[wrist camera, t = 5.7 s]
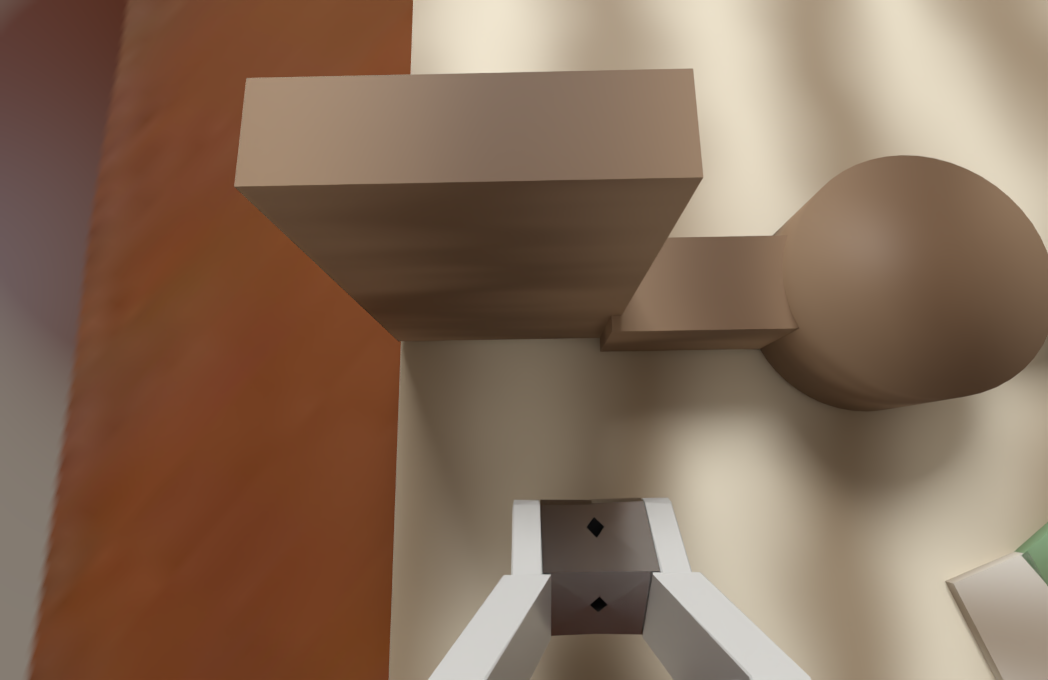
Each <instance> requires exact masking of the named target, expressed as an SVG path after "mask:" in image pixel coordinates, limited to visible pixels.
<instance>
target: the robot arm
mask: <svg viewBox="0 0 1048 680" xmlns="http://www.w3.org/2000/svg"><path fill="white" fill-rule="evenodd" d="M584 634H634V635H643V636H642V637H643V639H644V640H645V641H646V643H647V644H648V645H649V647H650V648H651V650H652V651H653V652H654V654H655V655H656V656H657V658H658V659H659V660H660V662H661V663H662V665H663V666H664V667H665V669H666V670H667V671H668V673H669V674H670V675H671V677H672V678H673V680H811V678H810V676H809V675H807V674H806V673H805V672H804V671H803V670H802V669H801V668H800V667H799V666H798V665H797V664H796V663H795V662H794V661H793V660H792V659H791V658H790V657H789V656H788V655H787V654H786V653H784V652H783V651H782V650H781V649H780V648H779V647H778V646H777V645H776V644H775V643H774V642H773V641H772V640H771V639H770V638H769V637H768V636H767V635H766V634H765V633H764V632H763V631H761V630H760V629H759V628H758V627H757V626H756V625H755V624H754V623H753V622H752V621H751V620H750V619H749V618H748V617H747V616H746V615H745V614H744V613H743V612H742V611H741V610H740V609H738V608H737V607H736V606H735V605H734V604H733V603H732V602H731V601H730V600H729V599H728V598H727V597H726V596H725V595H724V594H723V593H722V592H721V591H720V590H719V589H718V588H717V587H715V586H714V585H713V584H712V583H711V582H710V581H709V580H708V579H707V578H706V577H705V576H704V575H703V574H702V573H701V572H692V569H691V566H690V563H689V559H688V556H687V552H686V549H685V546H684V542H683V539H682V536H681V532H680V529H679V526H678V522H677V519H676V515H675V512H674V509H673V505H672V502H671V501H670V499H669V498H642V499H641V498H614V499H590V500H540V502H539V500H514V501H513V507H512V557H511V575H503V576H502V578H501V579H500V580H499V582H498V583H497V585H496V586H495V587H494V589H493V590H492V592H491V593H490V594H489V596H488V597H487V598H486V600H485V601H484V603H483V604H482V605H481V607H480V608H479V610H478V611H477V612H476V614H475V615H474V617H473V618H472V619H471V621H470V622H469V623H468V625H467V626H466V628H465V629H464V630H463V632H462V633H461V635H460V636H459V637H458V639H457V640H456V641H455V643H454V644H453V646H452V647H451V648H450V650H449V651H448V653H447V654H446V655H445V657H444V658H443V660H442V661H441V662H440V664H439V665H438V666H437V668H436V669H435V671H434V672H433V673H432V675H431V676H430V678H429V679H428V680H530V679H531V677H532V675H533V673H534V671H535V669H536V667H537V665H538V663H539V661H540V659H541V657H542V656H543V654H544V652H545V650H546V648H547V646H548V644H549V642H550V640H551V636H560V635H584Z"/></svg>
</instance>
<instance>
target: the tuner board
mask: <svg viewBox="0 0 1048 680" xmlns="http://www.w3.org/2000/svg"><path fill="white" fill-rule="evenodd" d="M688 68H693V72H694V83H695V93H696V104H697V114H698V125H699V135H700V146H701V157H702V167H703V179H702V181H701V182H700V184H699V186H698V187H697V189H696V191H695V192H694V194H693V196H692V198H691V199H690V201H689V203H688V204H687V206H686V208H685V209H684V211H683V213H682V214H681V216H680V218H679V219H678V221H677V223H676V225H675V226H674V228H673V230H672V231H671V233H670V235H669V236H668V238H671V237H724V236H772V235H773V234H774V233H775V232H776V231H778V230H779V229H780V228H781V227H782V226H783V225H784V224H785V223H786V222H787V221H788V220H789V219H790V218H791V217H792V216H793V215H794V214H795V213H796V212H797V211H798V210H799V209H800V208H801V207H802V206H803V205H804V204H806V203H807V202H808V201H809V200H810V199H811V198H812V197H813V196H814V195H815V194H816V193H817V192H818V191H819V190H820V189H821V188H822V187H823V186H824V185H825V184H827V183H828V182H829V181H830V180H831V179H832V178H834V177H835V176H837V175H838V174H840V173H841V172H843V171H844V170H846V169H848V168H850V167H852V166H854V165H856V164H859V163H862V162H865V161H868V160H871V159H876V158H881V157H886V156H898V155H910V156H923V157H929V158H935V159H939V160H943V161H946V162H950V163H953V164H955V165H958V166H961V167H963V168H966V169H968V170H970V171H972V172H974V173H976V174H978V175H980V176H981V177H983V178H985V179H986V180H988V181H989V182H991V183H992V184H994V185H995V186H997V187H998V188H999V189H1000V190H1001V191H1003V192H1004V193H1005V194H1006V195H1008V196H1009V197H1010V198H1011V199H1012V200H1013V201H1014V202H1015V203H1016V204H1017V205H1018V206H1019V207H1020V208H1021V209H1022V211H1023V212H1024V213H1025V215H1026V216H1027V217H1028V218H1029V220H1030V221H1031V222H1032V224H1033V225H1034V227H1035V229H1036V230H1037V232H1038V234H1039V235H1040V237H1041V239H1042V241H1043V244H1044V246H1045V248H1046V250H1047V252H1048V0H413V25H412V53H411V75H414V74H459V73H505V72H551V71H597V70H642V69H688ZM614 498H641V499H642V498H669V499H670V501H671V502H672V505H673V509H674V512H675V515H676V519H677V522H678V526H679V529H680V532H681V536H682V539H683V542H684V546H685V549H686V552H687V556H688V559H689V563H690V566H691V569H692V572H701V573H702V574H703V575H704V576H705V577H706V578H707V579H708V580H709V581H710V582H711V583H712V584H713V585H714V586H715V587H717V588H718V589H719V590H720V591H721V592H722V593H723V594H724V595H725V596H726V597H727V598H728V599H729V600H730V601H731V602H732V603H733V604H734V605H735V606H736V607H737V608H738V609H740V610H741V611H742V612H743V613H744V614H745V615H746V616H747V617H748V618H749V619H750V620H751V621H752V622H753V623H754V624H755V625H756V626H757V627H758V628H759V629H760V630H761V631H763V632H764V633H765V634H766V635H767V636H768V637H769V638H770V639H771V640H772V641H773V642H774V643H775V644H776V645H777V646H778V647H779V648H780V649H781V650H782V651H783V652H784V653H786V654H787V655H788V656H789V657H790V658H791V659H792V660H793V661H794V662H795V663H796V664H797V665H798V666H799V667H800V668H801V669H802V670H803V671H804V672H805V673H806V674H807V675H809V676H810V678H811V680H1048V335H1047V337H1046V339H1045V342H1044V344H1043V346H1042V347H1041V349H1040V350H1039V352H1038V353H1037V355H1036V356H1035V358H1034V359H1033V360H1032V361H1031V362H1030V363H1029V364H1028V365H1027V366H1026V367H1025V368H1024V369H1023V370H1022V371H1021V372H1020V373H1018V374H1017V375H1016V376H1014V377H1013V378H1012V379H1010V380H1009V381H1007V382H1005V383H1003V384H1002V385H1000V386H998V387H996V388H993V389H991V390H988V391H985V392H983V393H979V394H975V395H970V396H966V397H960V398H954V399H948V400H941V401H935V402H929V403H923V404H917V405H911V406H904V407H898V408H892V409H886V410H878V411H852V410H846V409H841V408H836V407H833V406H830V405H827V404H824V403H821V402H819V401H817V400H815V399H812V398H810V397H809V396H807V395H805V394H804V393H802V392H800V391H799V390H797V389H796V388H794V387H793V386H792V385H791V384H789V383H788V382H787V381H785V380H784V379H783V378H782V377H781V376H780V375H779V374H778V373H777V372H776V371H775V370H774V368H773V367H772V366H771V365H770V363H769V362H768V361H767V360H766V358H765V356H764V355H763V353H762V352H761V350H760V349H730V350H670V351H609V352H600V338H564V339H505V340H445V341H401V356H400V384H399V412H398V439H397V467H396V494H395V522H394V550H393V577H392V605H391V632H390V660H389V680H428V679H429V678H430V676H431V675H432V673H433V672H434V671H435V669H436V668H437V666H438V665H439V664H440V662H441V661H442V660H443V658H444V657H445V655H446V654H447V653H448V651H449V650H450V648H451V647H452V646H453V644H454V643H455V641H456V640H457V639H458V637H459V636H460V635H461V633H462V632H463V630H464V629H465V628H466V626H467V625H468V623H469V622H470V621H471V619H472V618H473V617H474V615H475V614H476V612H477V611H478V610H479V608H480V607H481V605H482V604H483V603H484V601H485V600H486V598H487V597H488V596H489V594H490V593H491V592H492V590H493V589H494V587H495V586H496V585H497V583H498V582H499V580H500V579H501V578H502V576H503V575H511V557H512V507H513V501H514V500H539V502H540V500H590V499H614ZM642 636H643V635H634V634H584V635H560V636H551V640H550V642H549V644H548V646H547V648H546V650H545V652H544V654H543V656H542V657H541V659H540V661H539V663H538V665H537V667H536V669H535V671H534V673H533V675H532V677H531V679H530V680H673V678H672V677H671V675H670V674H669V673H668V671H667V670H666V669H665V667H664V666H663V665H662V663H661V662H660V660H659V659H658V658H657V656H656V655H655V654H654V652H653V651H652V650H651V648H650V647H649V645H648V644H647V643H646V641H645V640H644V639H643V637H642Z"/></svg>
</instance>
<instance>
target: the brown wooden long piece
mask: <svg viewBox="0 0 1048 680" xmlns="http://www.w3.org/2000/svg"><path fill="white" fill-rule="evenodd" d="M702 179H703V167H702V157H701V146H700V135H699V125H698V114H697V104H696V93H695V83H694V72H693V68H688V69H642V70H597V71H551V72H505V73H459V74H414V75H368V76H322V77H276V78H246V87H245V96H244V105H243V114H242V123H241V131H240V140H239V149H238V158H237V167H236V176H235V185H234V187H235V188H236V189H237V190H238V191H240V192H241V193H242V194H243V195H244V196H245V197H246V198H247V199H248V200H249V201H250V202H251V203H252V204H253V205H254V206H255V207H257V208H258V209H259V210H260V211H261V212H262V213H263V214H264V215H265V216H266V217H267V218H268V219H269V220H270V221H271V222H272V223H273V224H275V225H276V226H277V227H278V228H279V229H280V230H281V231H282V232H283V233H284V234H285V235H286V236H287V237H288V238H289V239H290V240H292V241H293V242H294V243H295V244H296V245H297V246H298V247H299V248H300V249H301V250H302V251H303V252H304V253H305V254H306V255H307V256H309V257H310V258H311V259H312V260H313V261H314V262H315V263H316V264H317V265H318V266H319V267H320V268H321V269H322V270H323V271H324V272H326V273H327V274H328V275H329V276H330V277H331V278H332V279H333V280H334V281H335V282H336V283H337V284H338V285H339V286H340V287H341V288H343V289H344V290H345V291H346V292H347V293H348V294H349V295H350V296H351V297H352V298H353V299H354V300H355V301H356V302H357V303H358V304H359V305H361V306H362V307H363V308H364V309H365V310H366V311H367V312H368V313H369V314H370V315H371V316H372V317H373V318H374V319H375V320H376V321H378V322H379V323H380V324H381V325H382V326H383V327H384V328H385V329H386V330H387V331H388V332H389V333H390V334H391V335H392V336H393V337H395V338H396V339H397V340H398V341H445V340H505V339H564V338H600V352H609V351H670V350H730V349H760V350H761V352H762V353H763V355H764V356H765V358H766V360H767V361H768V362H769V363H770V365H771V366H772V367H773V368H774V370H775V371H776V372H777V373H778V374H779V375H780V376H781V377H782V378H783V379H784V380H785V381H787V382H788V383H789V384H791V385H792V386H793V387H794V388H796V389H797V390H799V391H800V392H802V393H804V394H805V395H807V396H809V397H810V398H812V399H815V400H817V401H819V402H821V403H824V404H827V405H830V406H833V407H836V408H841V409H846V410H852V411H878V410H886V409H892V408H898V407H904V406H911V405H917V404H923V403H929V402H935V401H941V400H948V399H954V398H960V397H966V396H970V395H975V394H979V393H983V392H985V391H988V390H991V389H993V388H996V387H998V386H1000V385H1002V384H1003V383H1005V382H1007V381H1009V380H1010V379H1012V378H1013V377H1014V376H1016V375H1017V374H1018V373H1020V372H1021V371H1022V370H1023V369H1024V368H1025V367H1026V366H1027V365H1028V364H1029V363H1030V362H1031V361H1032V360H1033V359H1034V358H1035V356H1036V355H1037V353H1038V352H1039V350H1040V349H1041V347H1042V346H1043V344H1044V342H1045V339H1046V337H1047V335H1048V252H1047V250H1046V248H1045V246H1044V244H1043V241H1042V239H1041V237H1040V235H1039V234H1038V232H1037V230H1036V229H1035V227H1034V225H1033V224H1032V222H1031V221H1030V220H1029V218H1028V217H1027V216H1026V215H1025V213H1024V212H1023V211H1022V209H1021V208H1020V207H1019V206H1018V205H1017V204H1016V203H1015V202H1014V201H1013V200H1012V199H1011V198H1010V197H1009V196H1008V195H1006V194H1005V193H1004V192H1003V191H1001V190H1000V189H999V188H998V187H997V186H995V185H994V184H992V183H991V182H989V181H988V180H986V179H985V178H983V177H981V176H980V175H978V174H976V173H974V172H972V171H970V170H968V169H966V168H963V167H961V166H958V165H955V164H953V163H950V162H946V161H943V160H939V159H935V158H929V157H923V156H910V155H898V156H886V157H881V158H876V159H871V160H868V161H865V162H862V163H859V164H856V165H854V166H852V167H850V168H848V169H846V170H844V171H843V172H841V173H840V174H838V175H837V176H835V177H834V178H832V179H831V180H830V181H829V182H828V183H827V184H825V185H824V186H823V187H822V188H821V189H820V190H819V191H818V192H817V193H816V194H815V195H814V196H813V197H812V198H811V199H810V200H809V201H808V202H807V203H806V204H804V205H803V206H802V207H801V208H800V209H799V210H798V211H797V212H796V213H795V214H794V215H793V216H792V217H791V218H790V219H789V220H788V221H787V222H786V223H785V224H784V225H783V226H782V227H781V228H780V229H779V230H778V231H776V232H775V233H774V234H773V235H772V236H724V237H671V238H668V236H669V235H670V233H671V231H672V230H673V228H674V226H675V225H676V223H677V221H678V219H679V218H680V216H681V214H682V213H683V211H684V209H685V208H686V206H687V204H688V203H689V201H690V199H691V198H692V196H693V194H694V192H695V191H696V189H697V187H698V186H699V184H700V182H701V181H702Z"/></svg>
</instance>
